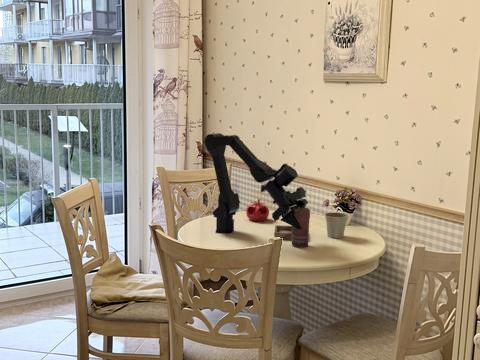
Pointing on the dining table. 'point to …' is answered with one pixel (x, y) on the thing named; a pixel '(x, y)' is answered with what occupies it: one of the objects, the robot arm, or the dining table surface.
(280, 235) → the tray
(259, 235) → the dining table surface
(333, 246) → the dining table surface
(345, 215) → the flower pot
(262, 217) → the pomegranate
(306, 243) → the can
